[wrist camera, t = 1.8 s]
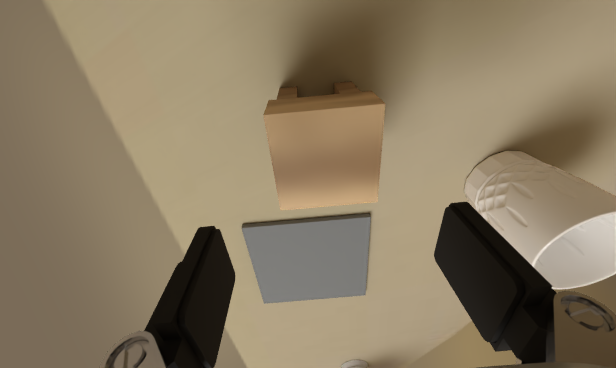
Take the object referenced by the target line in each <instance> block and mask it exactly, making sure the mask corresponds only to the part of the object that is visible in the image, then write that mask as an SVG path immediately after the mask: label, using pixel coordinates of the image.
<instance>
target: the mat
mask: <svg viewBox="0 0 616 368" xmlns="http://www.w3.org/2000/svg"><path fill="white" fill-rule="evenodd" d="M370 219H371V217H370V214H357V215H346V216H334V217H323V218H311V219H300V220H288V221H277V222H265V223H254V224H243V225H242V231H243V235H244V238H245V241H246V245H247V248H248V251H249V255H250V258H251V261H252V265H253V268H254V271H255V275H256V278H257V281H258V285H259V288H260V291H261V295H262V298H263V301H264V304H265V303H277V302H290V301H302V300H314V299H326V298H338V297H350V296H362V295H365V294H366V279H367V264H368V249H369V234H370Z"/></svg>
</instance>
